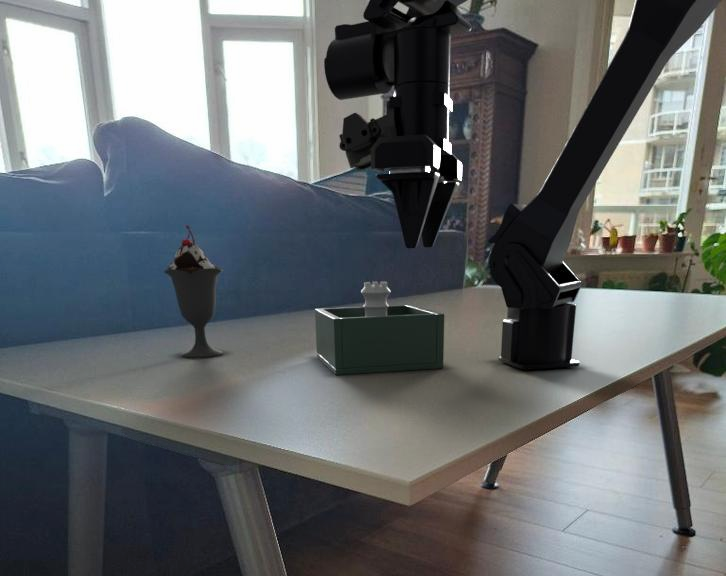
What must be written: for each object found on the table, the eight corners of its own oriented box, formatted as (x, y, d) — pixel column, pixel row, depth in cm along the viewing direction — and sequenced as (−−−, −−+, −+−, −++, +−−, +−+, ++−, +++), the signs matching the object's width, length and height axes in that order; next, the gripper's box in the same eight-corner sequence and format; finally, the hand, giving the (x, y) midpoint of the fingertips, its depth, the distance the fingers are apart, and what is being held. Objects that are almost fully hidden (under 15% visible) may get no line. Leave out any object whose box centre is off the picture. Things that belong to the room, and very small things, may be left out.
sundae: (206, 348, 87) (194, 225, 82) (240, 353, 83) (229, 223, 78) (163, 355, 82) (147, 225, 77) (197, 360, 78) (182, 223, 73)
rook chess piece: (395, 360, 72) (394, 283, 69) (353, 360, 72) (352, 283, 70) (398, 353, 76) (398, 280, 73) (359, 353, 77) (357, 281, 74)
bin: (411, 352, 81) (411, 304, 79) (443, 368, 70) (444, 313, 68) (316, 357, 78) (314, 308, 77) (335, 375, 68) (333, 318, 66)
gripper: (371, 109, 80) (373, 248, 85) (317, 74, 63) (323, 250, 68) (464, 102, 76) (460, 246, 82) (434, 63, 60) (431, 248, 65)
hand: (420, 247), depth 74 cm, fingers open, 9 cm apart
